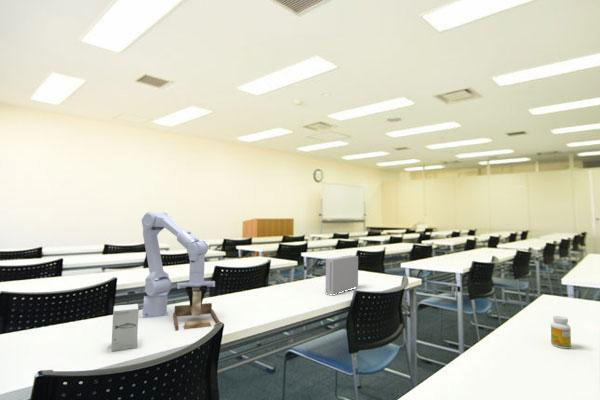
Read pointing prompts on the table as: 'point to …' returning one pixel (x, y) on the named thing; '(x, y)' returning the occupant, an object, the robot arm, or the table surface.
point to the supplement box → (125, 327)
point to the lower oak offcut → (198, 327)
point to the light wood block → (196, 302)
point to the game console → (341, 274)
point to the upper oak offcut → (197, 324)
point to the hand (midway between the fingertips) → (195, 305)
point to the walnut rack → (186, 310)
